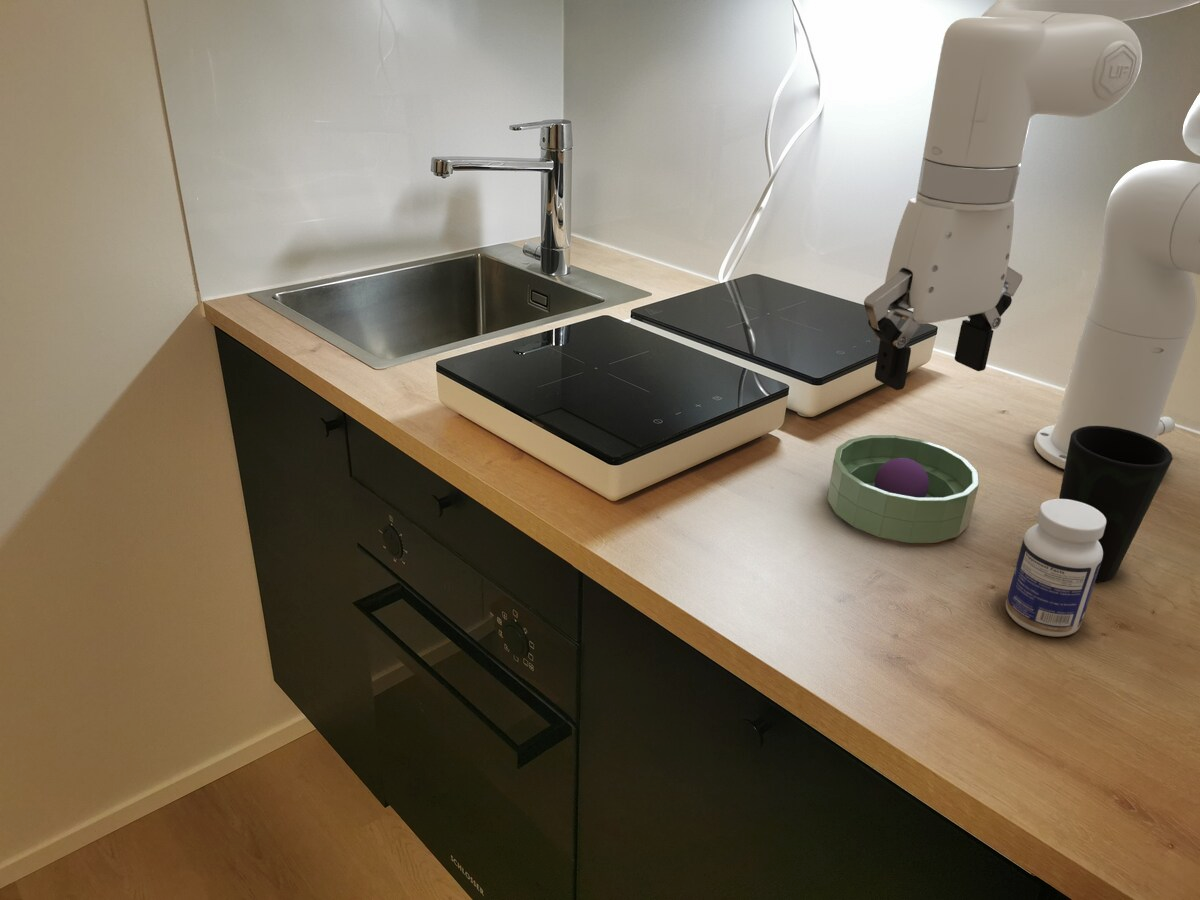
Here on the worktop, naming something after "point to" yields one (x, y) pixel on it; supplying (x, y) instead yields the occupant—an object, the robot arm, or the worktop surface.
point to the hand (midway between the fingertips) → (929, 374)
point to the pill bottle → (1057, 568)
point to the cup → (1114, 483)
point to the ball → (903, 478)
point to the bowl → (897, 513)
